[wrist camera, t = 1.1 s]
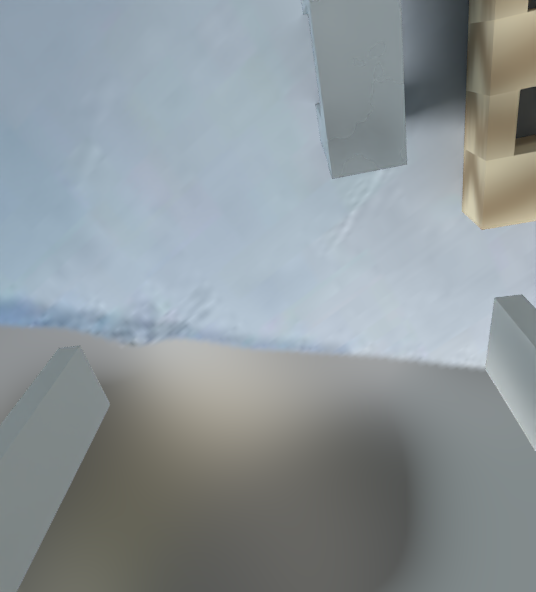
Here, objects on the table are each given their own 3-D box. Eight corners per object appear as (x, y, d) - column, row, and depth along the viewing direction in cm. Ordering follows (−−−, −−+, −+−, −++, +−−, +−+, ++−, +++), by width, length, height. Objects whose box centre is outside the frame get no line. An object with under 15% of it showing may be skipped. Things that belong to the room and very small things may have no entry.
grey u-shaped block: (295, -38, 25) (298, -82, 17) (360, -56, 25) (397, -111, 16) (320, 143, 31) (332, 178, 22) (374, 132, 30) (407, 164, 22)
